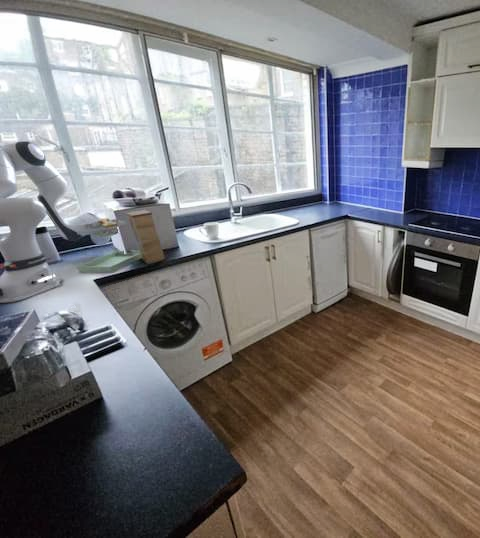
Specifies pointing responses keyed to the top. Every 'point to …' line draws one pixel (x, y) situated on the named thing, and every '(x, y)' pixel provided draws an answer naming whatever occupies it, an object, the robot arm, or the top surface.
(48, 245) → the travel mug
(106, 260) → the tray
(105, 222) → the key
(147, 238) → the key stand
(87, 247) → the top surface
